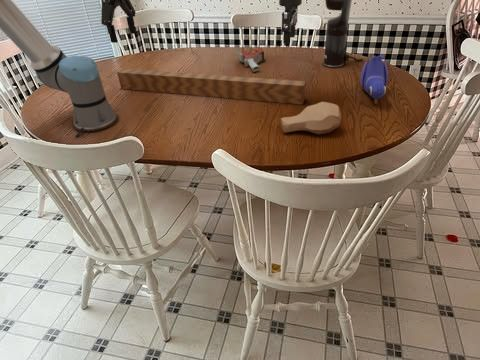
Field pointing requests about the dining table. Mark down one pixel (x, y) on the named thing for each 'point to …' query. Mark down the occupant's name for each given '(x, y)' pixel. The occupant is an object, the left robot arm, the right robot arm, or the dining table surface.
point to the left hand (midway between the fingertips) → (124, 37)
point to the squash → (314, 119)
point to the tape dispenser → (251, 58)
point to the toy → (374, 77)
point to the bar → (214, 85)
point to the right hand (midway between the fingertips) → (289, 40)
